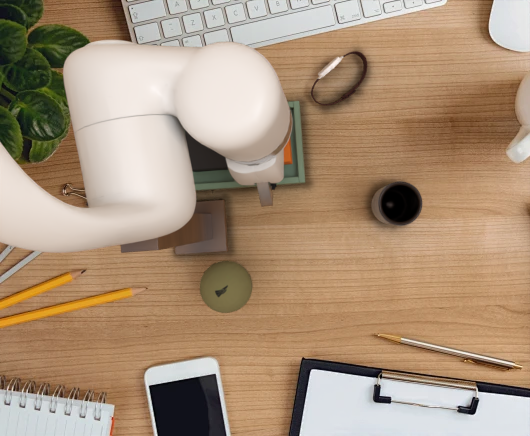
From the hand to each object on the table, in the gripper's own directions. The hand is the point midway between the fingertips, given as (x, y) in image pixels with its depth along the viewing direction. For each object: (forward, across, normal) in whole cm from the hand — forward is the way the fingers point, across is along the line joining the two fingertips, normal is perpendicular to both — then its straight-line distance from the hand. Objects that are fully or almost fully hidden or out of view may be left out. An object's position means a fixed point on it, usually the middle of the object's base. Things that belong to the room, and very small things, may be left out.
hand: (268, 144), depth 71 cm
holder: (+1, 0, -3) cm, 4 cm away
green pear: (+2, +16, -5) cm, 16 cm away
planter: (+2, +8, +14) cm, 16 cm away
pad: (+1, 0, -7) cm, 7 cm away
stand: (+1, +9, -9) cm, 13 cm away
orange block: (-1, 0, 0) cm, 1 cm away
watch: (+2, -7, +9) cm, 11 cm away
